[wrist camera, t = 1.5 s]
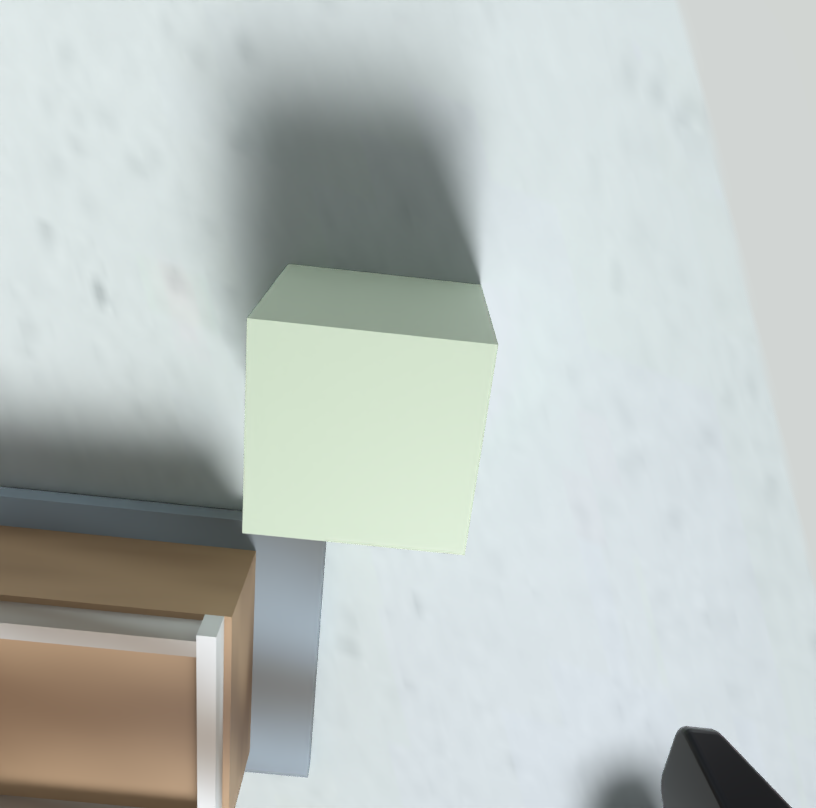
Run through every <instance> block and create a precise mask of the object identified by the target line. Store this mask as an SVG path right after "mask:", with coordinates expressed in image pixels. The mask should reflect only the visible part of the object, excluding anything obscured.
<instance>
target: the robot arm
mask: <svg viewBox="0 0 816 808" xmlns="http://www.w3.org/2000/svg"><path fill="white" fill-rule="evenodd" d="M661 794H662V801H663V808H792V807H791V806H790V805H789V804H788V803H787V802H786V801H785V800H784V799H783V798H782V797H781V796H780V795H779V794H778V793H777V792H776V791H775V790H774V789H773V788H772V787H771V786H770V785H769V784H768V782H767V781H766V780H765V779H764V778H763V777H762V776H761V775H760V774H759V773H758V772H757V771H756V770H755V769H754V768H753V767H752V766H751V765H750V764H749V763H748V762H747V761H746V760H745V759H744V757H743V756H742V755H741V754H740V753H739V752H738V751H737V750H736V749H735V748H734V747H733V746H732V745H731V744H730V743H729V742H728V741H727V740H726V739H725V738H724V737H723V736H722V735H721V734H720V733H719V732H717V731H716V730H713V729H708V728H699V727H689V726H684V727H681V728H680V729H679V730H678V731H677V733H676V735H675V738H674V741H673V744H672V747H671V750H670V752H669V755H668V758H667V761H666V764H665V767H664V770H663V774H662V779H661Z"/></svg>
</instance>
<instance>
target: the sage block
mask: <svg viewBox="0 0 816 808" xmlns="http://www.w3.org/2000/svg"><path fill="white" fill-rule="evenodd" d="M497 349H498V343H497V339H496V336H495V332H494V329H493V325H492V322H491V318H490V315H489V311H488V308H487V304H486V301H485V297H484V294H483V290H482V287H481V285H480V284H470V283H461V282H452V281H443V280H433V279H424V278H415V277H406V276H396V275H387V274H378V273H369V272H360V271H350V270H341V269H332V268H323V267H313V266H304V265H295V264H288V265H287V266H286V267H285V269H284V270H283V271H282V273H281V274H280V275H279V277H278V278H277V279H276V281H275V282H274V283H273V284H272V286H271V287H270V288H269V290H268V291H267V292H266V294H265V295H264V296H263V298H262V299H261V300H260V302H259V303H258V304H257V306H256V307H255V308H254V309H253V311H252V312H251V313H250V315H249V316H248V317H247V337H246V383H245V429H244V475H243V521H242V533H246V534H256V535H266V536H277V537H287V538H297V539H307V540H317V541H327V542H337V543H347V544H357V545H367V546H377V547H387V548H397V549H407V550H417V551H427V552H437V553H447V554H457V555H465V549H466V543H467V537H468V531H469V524H470V518H471V512H472V506H473V499H474V493H475V487H476V481H477V474H478V468H479V462H480V455H481V449H482V443H483V437H484V430H485V424H486V418H487V412H488V405H489V399H490V393H491V387H492V380H493V374H494V368H495V362H496V355H497Z"/></svg>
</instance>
